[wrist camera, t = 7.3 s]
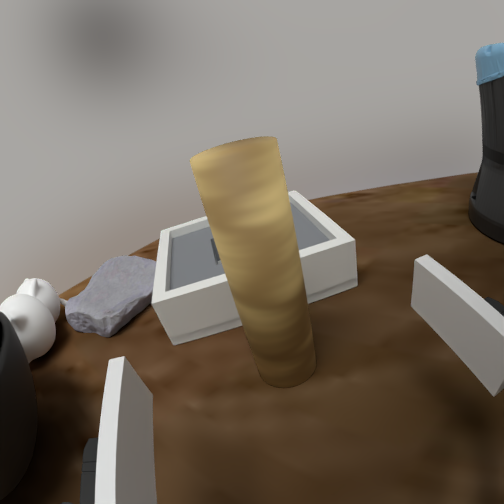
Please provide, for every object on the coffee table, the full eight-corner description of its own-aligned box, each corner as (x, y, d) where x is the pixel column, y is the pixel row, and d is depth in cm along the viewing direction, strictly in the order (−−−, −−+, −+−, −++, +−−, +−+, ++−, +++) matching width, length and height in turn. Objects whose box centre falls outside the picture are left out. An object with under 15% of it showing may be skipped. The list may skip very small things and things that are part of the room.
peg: (305, 336, 24) (264, 133, 17) (324, 375, 21) (288, 142, 13) (253, 354, 24) (189, 154, 17) (266, 395, 20) (190, 168, 13)
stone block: (179, 288, 39) (120, 274, 42) (171, 258, 36) (110, 247, 39) (130, 358, 30) (69, 332, 33) (114, 329, 27) (53, 304, 30)
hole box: (301, 224, 42) (295, 190, 40) (357, 285, 28) (354, 239, 26) (174, 263, 41) (161, 230, 39) (173, 345, 27) (151, 303, 25)
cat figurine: (18, 258, 32) (-19, 305, 22) (89, 273, 36) (70, 327, 26) (20, 313, 35) (-7, 367, 24) (85, 327, 39) (72, 387, 28)
